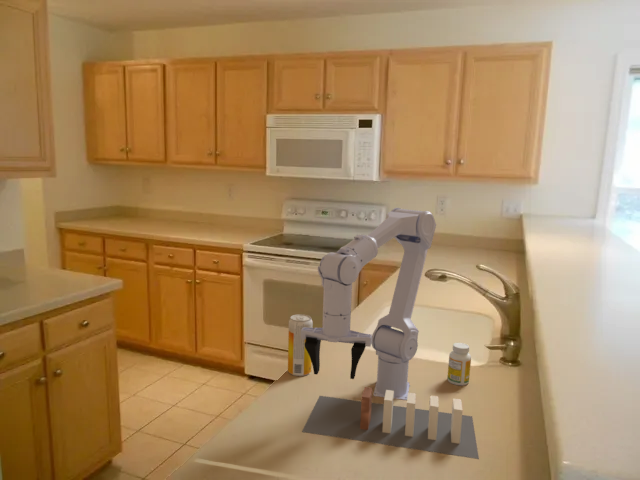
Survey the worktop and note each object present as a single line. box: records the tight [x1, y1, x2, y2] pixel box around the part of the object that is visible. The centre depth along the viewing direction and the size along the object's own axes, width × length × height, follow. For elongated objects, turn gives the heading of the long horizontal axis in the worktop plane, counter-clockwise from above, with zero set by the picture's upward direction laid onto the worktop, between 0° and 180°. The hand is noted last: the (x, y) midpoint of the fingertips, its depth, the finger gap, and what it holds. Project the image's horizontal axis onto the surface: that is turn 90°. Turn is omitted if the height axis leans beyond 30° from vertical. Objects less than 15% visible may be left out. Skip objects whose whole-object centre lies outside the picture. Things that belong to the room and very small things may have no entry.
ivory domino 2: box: [405, 392, 417, 437], centre depth 99 cm, size 2×4×7 cm, turn 167°
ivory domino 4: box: [451, 397, 463, 444], centre depth 97 cm, size 2×4×7 cm, turn 167°
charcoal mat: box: [301, 395, 480, 460], centre depth 102 cm, size 16×34×1 cm, turn 77°
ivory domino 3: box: [428, 395, 440, 440], centre depth 98 cm, size 2×4×7 cm, turn 167°
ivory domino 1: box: [382, 390, 394, 433], centre depth 100 cm, size 2×4×7 cm, turn 167°
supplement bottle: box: [447, 342, 472, 386], centre depth 123 cm, size 5×5×10 cm
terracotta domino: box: [360, 386, 373, 430], centre depth 101 cm, size 2×4×7 cm, turn 167°
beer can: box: [287, 314, 314, 377], centre depth 125 cm, size 6×6×15 cm
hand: (334, 374), depth 101 cm, fingers open, 7 cm apart
